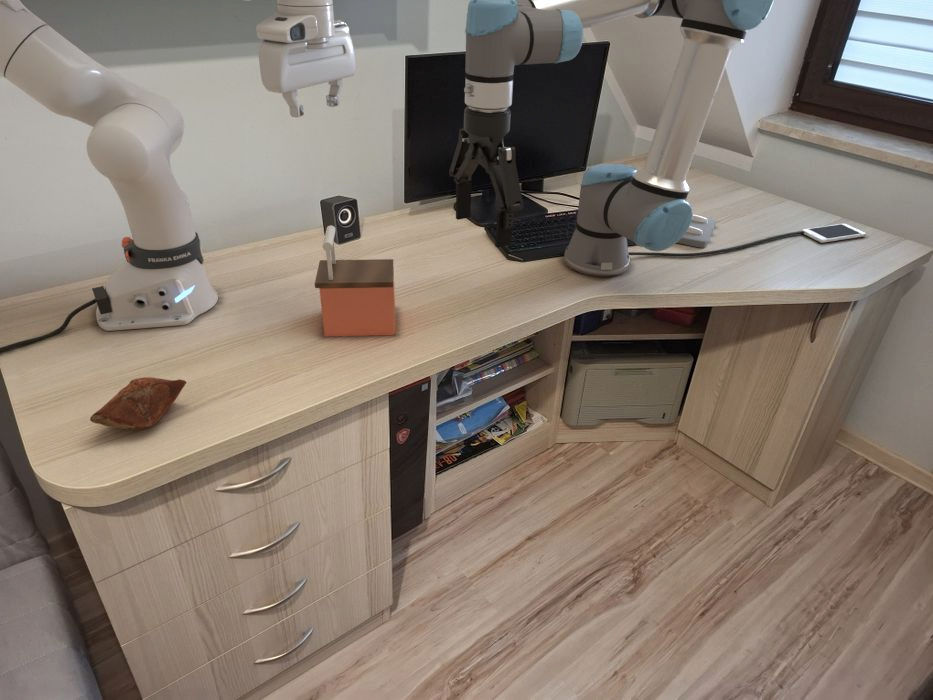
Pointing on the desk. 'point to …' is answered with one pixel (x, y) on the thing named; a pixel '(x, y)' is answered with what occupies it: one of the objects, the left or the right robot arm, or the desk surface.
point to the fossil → (139, 403)
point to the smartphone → (833, 233)
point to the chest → (358, 311)
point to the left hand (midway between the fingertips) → (315, 111)
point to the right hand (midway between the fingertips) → (482, 231)
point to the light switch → (698, 232)
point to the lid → (351, 269)
